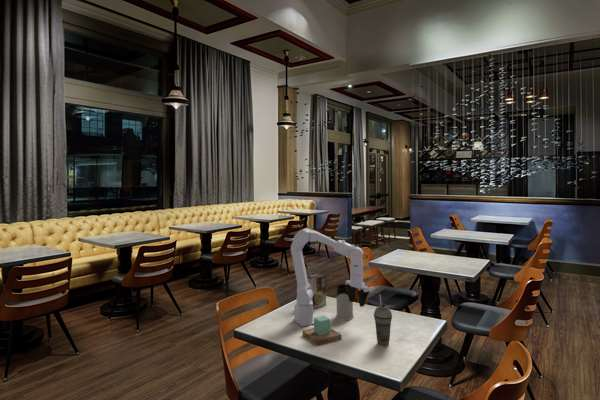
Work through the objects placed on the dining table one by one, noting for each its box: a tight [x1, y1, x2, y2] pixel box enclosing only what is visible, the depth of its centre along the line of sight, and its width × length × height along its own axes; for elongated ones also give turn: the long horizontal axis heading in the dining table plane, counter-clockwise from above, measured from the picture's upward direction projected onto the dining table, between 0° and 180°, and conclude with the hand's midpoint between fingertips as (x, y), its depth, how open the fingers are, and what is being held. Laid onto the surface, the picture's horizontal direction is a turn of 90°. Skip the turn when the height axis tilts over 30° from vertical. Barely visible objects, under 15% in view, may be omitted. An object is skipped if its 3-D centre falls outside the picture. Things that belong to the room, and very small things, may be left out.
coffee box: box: [307, 273, 327, 309], centre depth 195 cm, size 9×6×16 cm
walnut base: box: [302, 327, 343, 346], centre depth 154 cm, size 12×12×2 cm
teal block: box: [313, 315, 331, 336], centre depth 154 cm, size 5×5×6 cm
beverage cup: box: [373, 293, 393, 347], centre depth 146 cm, size 7×7×20 cm
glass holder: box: [335, 284, 355, 321], centre depth 180 cm, size 9×14×15 cm, turn 167°
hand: (356, 303), depth 164 cm, fingers open, 7 cm apart
